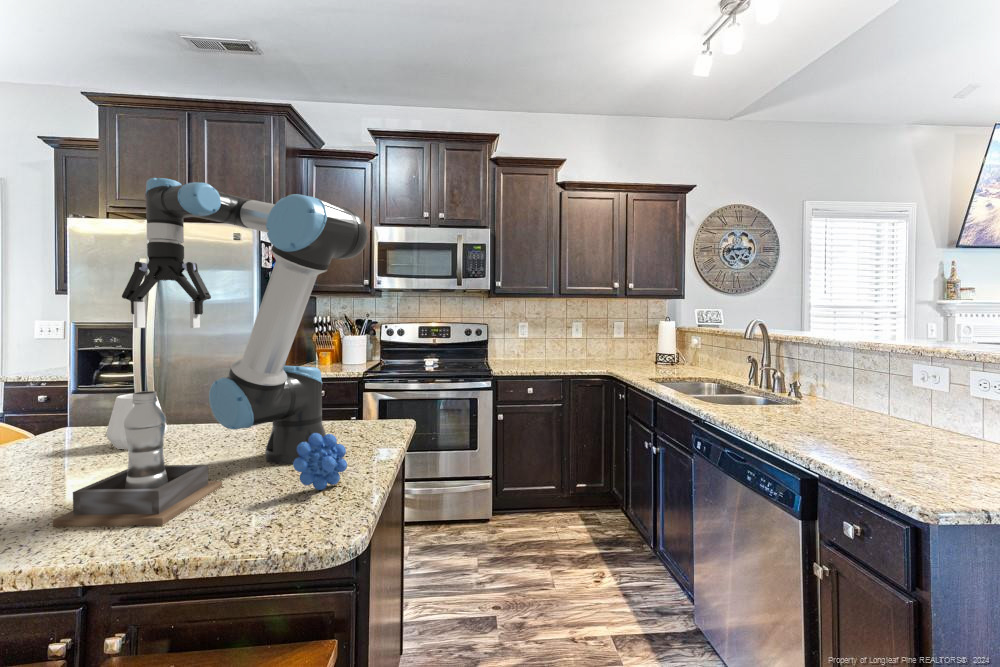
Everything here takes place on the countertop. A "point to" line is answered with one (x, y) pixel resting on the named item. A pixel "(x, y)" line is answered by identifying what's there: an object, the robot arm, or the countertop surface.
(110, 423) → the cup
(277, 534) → the countertop surface
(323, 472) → the blue bumpy flower
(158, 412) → the plastic bottle
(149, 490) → the bottle dock
